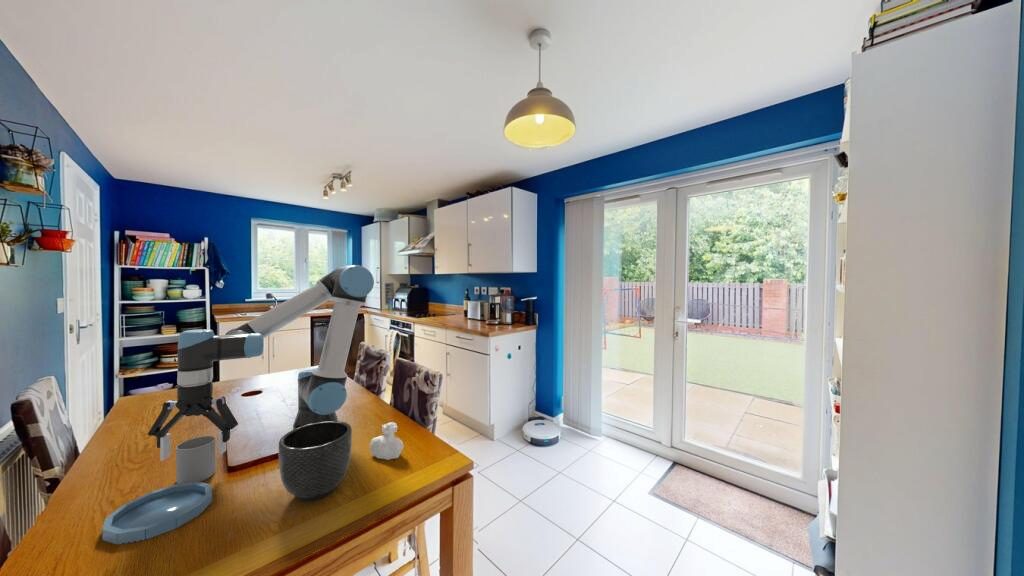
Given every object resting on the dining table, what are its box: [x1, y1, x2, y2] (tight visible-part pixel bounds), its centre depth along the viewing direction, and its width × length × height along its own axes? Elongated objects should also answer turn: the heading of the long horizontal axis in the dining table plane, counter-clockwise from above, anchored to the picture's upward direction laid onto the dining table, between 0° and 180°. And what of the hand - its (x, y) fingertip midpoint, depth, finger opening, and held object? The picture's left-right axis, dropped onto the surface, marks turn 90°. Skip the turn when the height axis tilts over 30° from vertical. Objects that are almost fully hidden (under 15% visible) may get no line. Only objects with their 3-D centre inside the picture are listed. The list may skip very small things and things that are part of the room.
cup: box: [175, 435, 217, 484], centre depth 97 cm, size 8×8×10 cm
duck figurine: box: [369, 421, 404, 461], centre depth 110 cm, size 12×8×11 cm
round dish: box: [101, 481, 213, 545], centre depth 81 cm, size 18×18×2 cm
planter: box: [278, 420, 353, 503], centre depth 90 cm, size 17×17×16 cm
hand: (194, 455), depth 96 cm, fingers open, 13 cm apart
